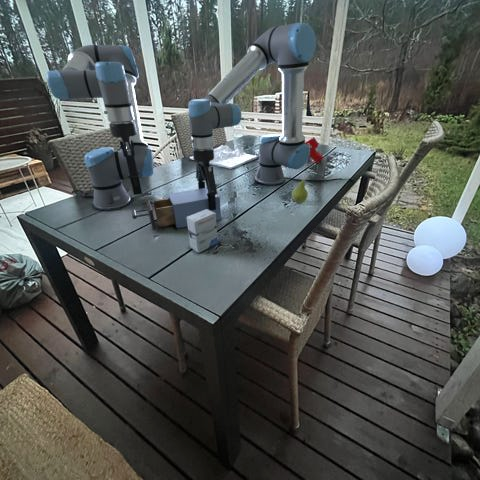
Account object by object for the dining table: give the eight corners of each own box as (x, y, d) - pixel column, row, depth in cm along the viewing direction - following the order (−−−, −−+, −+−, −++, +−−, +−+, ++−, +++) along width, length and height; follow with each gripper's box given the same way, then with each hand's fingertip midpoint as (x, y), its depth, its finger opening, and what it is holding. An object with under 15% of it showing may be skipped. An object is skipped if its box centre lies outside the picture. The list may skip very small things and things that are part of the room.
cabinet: (176, 228, 103) (173, 204, 97) (171, 216, 111) (167, 193, 106) (221, 219, 108) (219, 196, 103) (212, 208, 117) (211, 186, 111)
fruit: (288, 200, 123) (290, 174, 116) (302, 197, 125) (305, 172, 119) (296, 206, 118) (299, 179, 111) (310, 203, 120) (314, 177, 114)
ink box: (209, 237, 96) (206, 207, 90) (218, 243, 93) (216, 212, 87) (189, 247, 91) (185, 216, 85) (198, 253, 88) (195, 221, 82)
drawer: (136, 233, 98) (131, 213, 94) (134, 221, 105) (129, 203, 101) (196, 221, 105) (194, 202, 101) (190, 211, 113) (188, 193, 108)
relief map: (231, 168, 161) (231, 160, 158) (189, 159, 179) (189, 151, 176) (257, 158, 179) (257, 150, 176) (217, 150, 197) (216, 142, 194)
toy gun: (326, 157, 168) (314, 136, 164) (326, 159, 164) (313, 137, 160) (301, 172, 178) (289, 153, 174) (300, 174, 174) (287, 154, 170)
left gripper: (108, 119, 87) (125, 188, 100) (108, 126, 77) (128, 202, 90) (132, 117, 89) (146, 185, 102) (136, 124, 79) (151, 198, 92)
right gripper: (184, 141, 105) (190, 193, 117) (202, 158, 86) (207, 218, 98) (203, 140, 108) (207, 190, 119) (224, 155, 88) (226, 214, 100)
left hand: (137, 193), depth 96 cm, fingers closed
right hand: (207, 203), depth 108 cm, fingers open, 12 cm apart
